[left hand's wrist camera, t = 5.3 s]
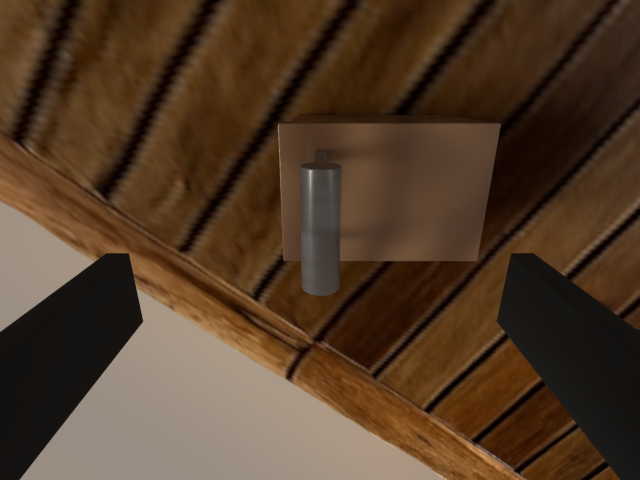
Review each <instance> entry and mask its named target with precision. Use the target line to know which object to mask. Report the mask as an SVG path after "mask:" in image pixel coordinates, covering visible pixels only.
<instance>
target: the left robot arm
mask: <svg viewBox="0 0 640 480" xmlns="http://www.w3.org/2000/svg"><path fill="white" fill-rule="evenodd" d="M142 322H143V318H142V314H141V309H140V304H139V299H138V295H137V290H136V285H135V281H134V276H133V271H132V266H131V262H130V257H129V253H106V254H105V255H104V256H102V257H101V258H100V259H98V260H97V261H96V262H94V263H93V264H91V265H90V266H89V267H87V268H86V269H85V270H83V271H82V272H81V273H79V274H78V275H77V276H75V277H74V278H73V279H71V280H70V281H69V282H67V283H66V284H64V285H63V286H62V287H60V288H59V289H58V290H57V291H55V292H54V293H52V294H51V295H50V296H48V297H47V298H46V299H44V300H43V301H42V302H40V303H39V304H38V305H36V306H35V307H34V308H32V309H31V310H29V311H28V312H27V313H25V314H24V315H23V316H21V317H20V318H19V319H17V320H16V321H15V322H13V323H12V324H11V325H9V326H8V327H6V328H5V329H4V330H2V331H1V332H0V480H20V478H21V477H22V476H23V474H24V473H25V472H26V471H27V469H28V468H29V467H30V466H31V464H32V463H33V462H34V460H35V459H36V458H37V457H38V455H39V454H40V453H41V452H42V450H43V449H44V448H45V446H46V445H47V444H48V442H49V441H50V440H51V439H52V437H53V436H54V435H55V434H56V432H57V431H58V430H59V428H60V427H61V426H62V425H63V423H64V422H65V421H66V420H67V418H68V417H69V416H70V414H71V413H72V412H73V411H74V409H75V408H76V407H77V405H78V404H79V403H80V402H81V400H82V399H83V398H84V397H85V395H86V394H87V393H88V391H89V390H90V389H91V388H92V386H93V385H94V384H95V382H96V381H97V380H98V379H99V377H100V376H101V375H102V373H103V372H104V371H105V370H106V368H107V367H108V366H109V364H110V363H111V362H112V361H113V359H114V358H115V357H116V356H117V354H118V353H119V352H120V350H121V349H122V348H123V347H124V345H125V344H126V343H127V341H128V340H129V339H130V338H131V336H132V335H133V334H134V333H135V331H136V330H137V329H138V327H139V326H140V325H141V324H142ZM497 322H498V324H499V325H500V326H501V327H502V329H503V330H504V331H505V333H506V334H507V335H508V336H509V338H510V339H511V340H512V341H513V343H514V344H515V345H516V347H517V348H518V349H519V350H520V352H521V353H522V354H523V356H524V357H525V358H526V359H527V361H528V362H529V363H530V365H531V366H532V367H533V368H534V370H535V371H536V372H537V373H538V375H539V376H540V377H541V379H542V380H543V381H544V382H545V384H546V385H547V386H548V388H549V389H550V390H551V391H552V393H553V394H554V395H555V397H556V398H557V399H558V400H559V402H560V403H561V404H562V405H563V407H564V408H565V409H566V411H567V412H568V413H569V414H570V416H571V417H572V418H573V420H574V421H575V422H576V423H577V425H578V426H579V427H580V428H581V430H582V431H583V432H584V434H585V435H586V436H587V437H588V439H589V440H590V441H591V443H592V444H593V445H594V446H595V448H596V449H597V450H598V452H599V453H600V454H601V455H602V457H603V458H604V459H605V460H606V462H607V463H608V464H609V466H610V467H611V468H612V469H613V471H614V472H615V473H616V475H617V476H618V477H619V478H620V480H640V330H638V329H635V328H634V327H632V326H631V325H630V324H628V323H627V322H625V321H624V320H623V319H621V318H620V317H619V316H617V315H616V314H615V313H613V312H612V311H611V310H609V309H608V308H607V307H605V306H604V305H603V304H601V303H600V302H598V301H597V300H596V299H594V298H593V297H592V296H590V295H589V294H588V293H586V292H585V291H584V290H582V289H581V288H580V287H578V286H577V285H576V284H574V283H573V282H571V281H570V280H569V279H567V278H566V277H565V276H563V275H562V274H561V273H559V272H558V271H557V270H555V269H554V268H553V267H551V266H550V265H549V264H547V263H546V262H544V261H543V260H542V259H540V258H539V257H538V256H536V255H535V254H534V253H511V257H510V262H509V266H508V271H507V276H506V281H505V285H504V290H503V295H502V299H501V304H500V309H499V314H498V318H497Z"/></svg>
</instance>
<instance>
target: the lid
mask: <svg viewBox="0 0 640 480" xmlns="http://www.w3.org/2000/svg"><path fill="white" fill-rule="evenodd" d="M500 127H501V124H500V123H495V122H280V123H278V141H279V165H280V189H281V214H282V238H283V260H284V261H301V262H302V288H303V290H304V291H305V292H307V293H309V294H312V295H319V296H323V295H329V294H332V293H334V292H336V291H337V290H338V289H339V279H340V261H477V258H478V252H479V246H480V241H481V235H482V229H483V224H484V218H485V212H486V207H487V201H488V195H489V190H490V184H491V178H492V172H493V167H494V161H495V155H496V150H497V144H498V138H499V133H500Z"/></svg>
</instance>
